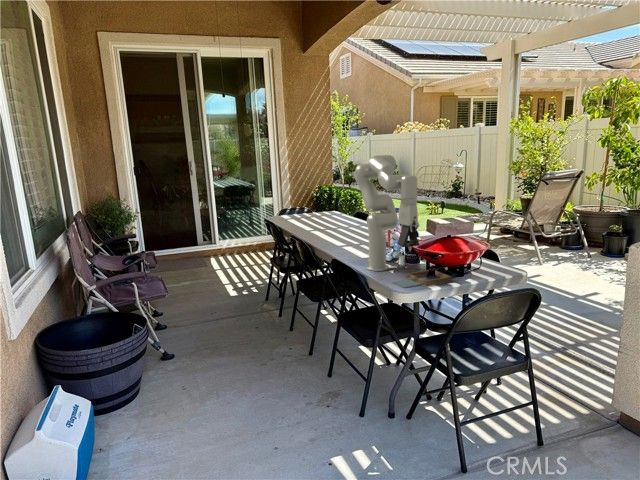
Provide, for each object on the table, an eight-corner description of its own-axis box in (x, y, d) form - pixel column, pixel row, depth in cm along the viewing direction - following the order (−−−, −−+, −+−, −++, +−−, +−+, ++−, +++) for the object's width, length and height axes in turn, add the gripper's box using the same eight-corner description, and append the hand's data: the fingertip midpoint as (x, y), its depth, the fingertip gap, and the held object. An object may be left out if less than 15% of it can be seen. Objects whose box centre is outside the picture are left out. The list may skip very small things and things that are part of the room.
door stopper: (402, 247, 213) (402, 222, 211) (397, 244, 219) (397, 220, 216) (419, 245, 216) (419, 221, 213) (413, 243, 221) (413, 219, 219)
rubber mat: (392, 282, 223) (392, 281, 223) (409, 279, 227) (409, 278, 227) (404, 288, 214) (404, 287, 214) (421, 285, 218) (421, 284, 218)
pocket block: (406, 278, 230) (406, 273, 230) (431, 273, 236) (431, 269, 236) (425, 286, 216) (425, 281, 215) (451, 281, 222) (451, 276, 222)
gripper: (391, 200, 219) (391, 236, 223) (413, 204, 203) (412, 242, 207) (404, 199, 222) (404, 234, 226) (426, 202, 207) (425, 240, 210)
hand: (408, 237), depth 216 cm, fingers closed on door stopper, 6 cm apart
